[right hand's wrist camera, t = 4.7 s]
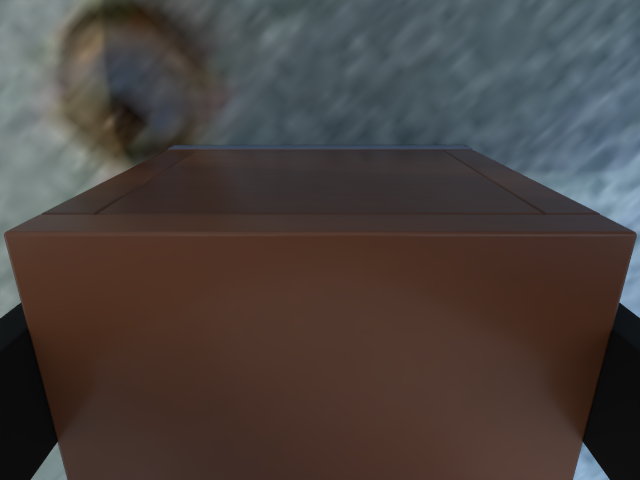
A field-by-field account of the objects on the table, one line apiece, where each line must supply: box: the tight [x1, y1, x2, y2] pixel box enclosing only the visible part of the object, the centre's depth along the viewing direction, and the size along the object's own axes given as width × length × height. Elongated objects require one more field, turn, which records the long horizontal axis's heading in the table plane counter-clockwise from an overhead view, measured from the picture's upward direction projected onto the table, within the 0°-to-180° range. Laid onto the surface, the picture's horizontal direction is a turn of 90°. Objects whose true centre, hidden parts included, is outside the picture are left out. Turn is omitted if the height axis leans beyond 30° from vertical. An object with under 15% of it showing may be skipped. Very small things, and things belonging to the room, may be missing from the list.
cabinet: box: [4, 145, 636, 480], centre depth 15 cm, size 17×11×10 cm, turn 0°
